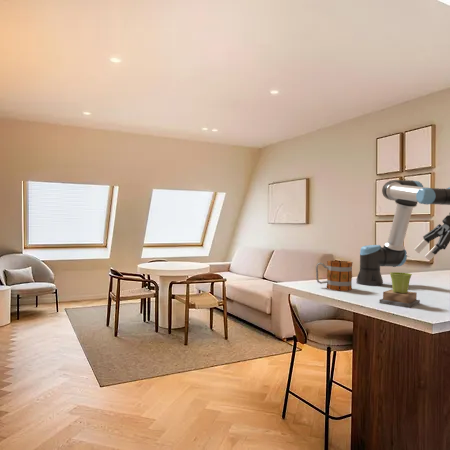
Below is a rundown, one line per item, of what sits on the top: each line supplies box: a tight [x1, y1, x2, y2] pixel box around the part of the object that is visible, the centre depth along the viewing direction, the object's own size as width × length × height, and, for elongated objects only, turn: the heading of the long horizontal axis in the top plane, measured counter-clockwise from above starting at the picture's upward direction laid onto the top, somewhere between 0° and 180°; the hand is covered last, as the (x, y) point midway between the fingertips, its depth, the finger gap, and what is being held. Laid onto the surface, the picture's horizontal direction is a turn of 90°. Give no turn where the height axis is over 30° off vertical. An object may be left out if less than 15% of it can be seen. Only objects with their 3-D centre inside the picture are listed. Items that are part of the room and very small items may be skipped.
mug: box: [315, 260, 353, 292], centre depth 214 cm, size 20×14×15 cm
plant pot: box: [389, 271, 413, 293], centre depth 177 cm, size 9×9×9 cm
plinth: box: [378, 288, 421, 308], centre depth 177 cm, size 13×14×5 cm
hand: (421, 254), depth 178 cm, fingers open, 13 cm apart
